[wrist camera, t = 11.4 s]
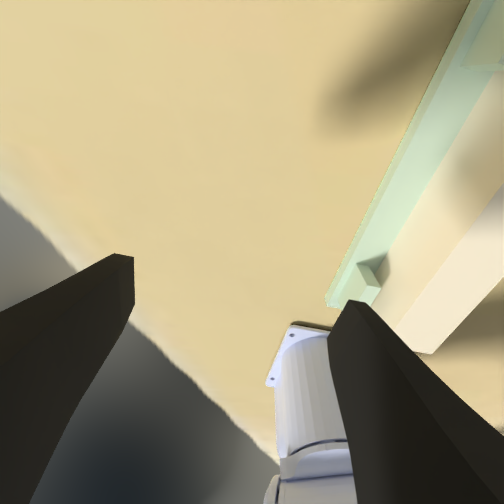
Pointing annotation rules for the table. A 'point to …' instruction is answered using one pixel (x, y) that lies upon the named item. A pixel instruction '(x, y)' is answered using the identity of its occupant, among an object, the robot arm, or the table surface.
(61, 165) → the table surface
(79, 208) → the table surface
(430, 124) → the strip rack
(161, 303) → the table surface
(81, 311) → the robot arm
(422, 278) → the clay strip
